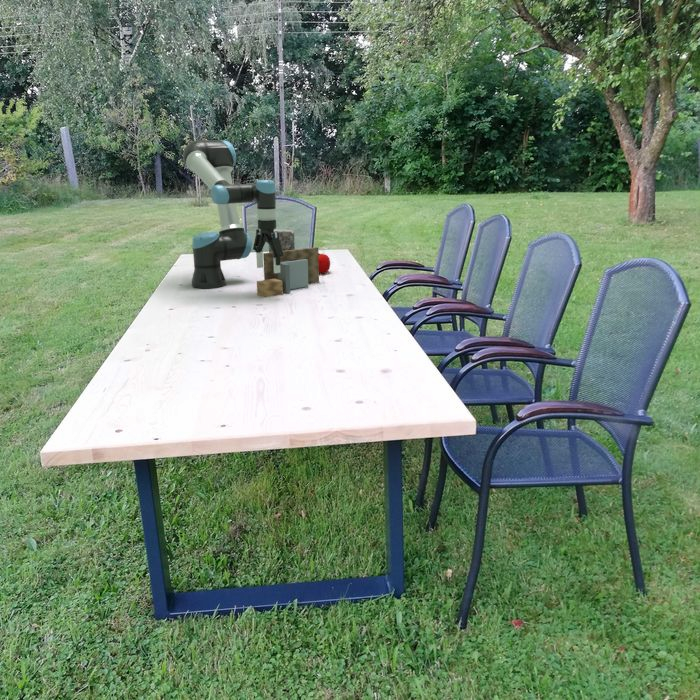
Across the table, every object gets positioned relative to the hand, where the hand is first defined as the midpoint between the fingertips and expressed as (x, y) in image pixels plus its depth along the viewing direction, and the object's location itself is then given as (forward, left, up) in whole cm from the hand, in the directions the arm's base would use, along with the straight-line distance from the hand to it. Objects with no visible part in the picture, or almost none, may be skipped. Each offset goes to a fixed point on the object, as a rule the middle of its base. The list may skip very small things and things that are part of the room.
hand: (268, 270), depth 266 cm
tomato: (+44, +26, -11) cm, 52 cm away
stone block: (+36, +47, -11) cm, 60 cm away
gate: (+14, 0, -10) cm, 17 cm away
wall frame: (+18, +9, -10) cm, 23 cm away
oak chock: (0, -1, -11) cm, 11 cm away
